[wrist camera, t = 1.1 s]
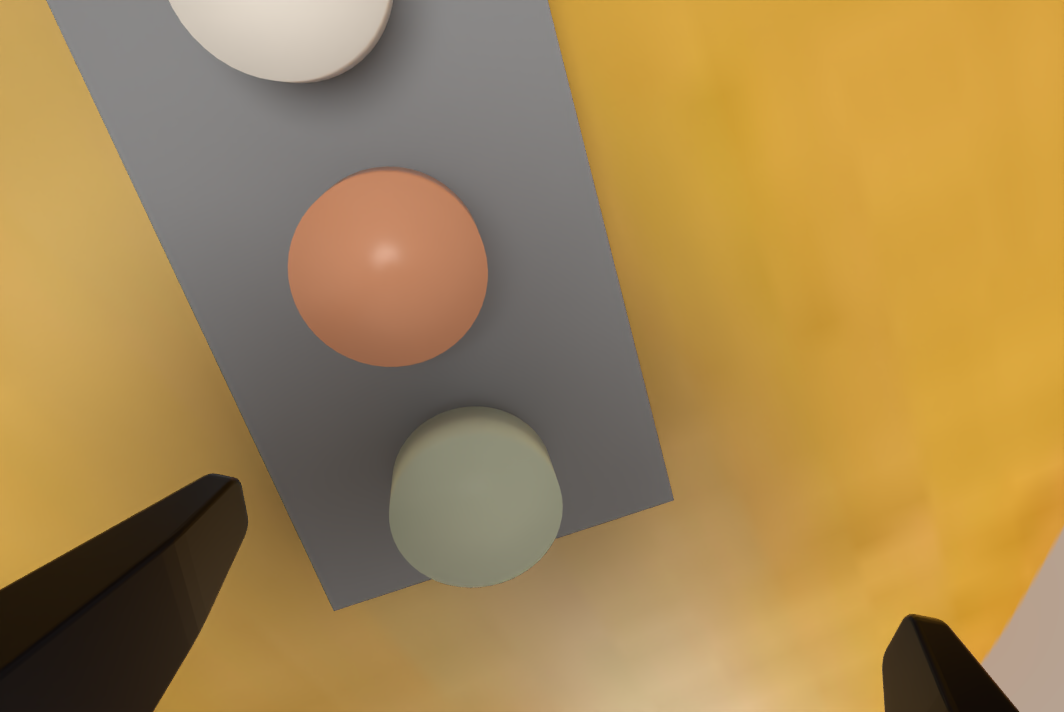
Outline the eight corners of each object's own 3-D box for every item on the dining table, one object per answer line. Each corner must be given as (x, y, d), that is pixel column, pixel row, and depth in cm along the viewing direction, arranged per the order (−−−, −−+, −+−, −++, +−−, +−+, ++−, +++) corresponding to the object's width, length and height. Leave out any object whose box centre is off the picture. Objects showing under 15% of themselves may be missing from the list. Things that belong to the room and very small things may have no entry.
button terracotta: (340, 365, 19) (331, 391, 17) (271, 198, 18) (255, 208, 16) (504, 312, 19) (511, 333, 18) (450, 142, 18) (453, 147, 16)
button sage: (422, 568, 21) (422, 608, 20) (368, 435, 20) (362, 467, 18) (569, 520, 22) (581, 556, 20) (527, 385, 20) (536, 411, 18)
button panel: (344, 551, 26) (333, 610, 23) (60, -84, 19) (-9, -117, 16) (645, 454, 26) (673, 500, 23) (473, -205, 19) (481, -261, 16)
